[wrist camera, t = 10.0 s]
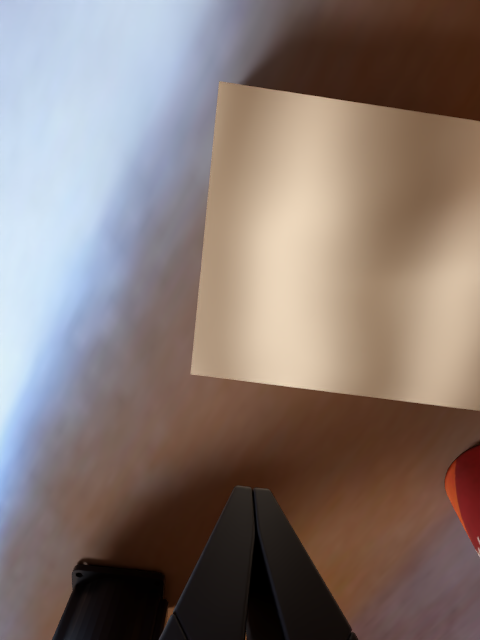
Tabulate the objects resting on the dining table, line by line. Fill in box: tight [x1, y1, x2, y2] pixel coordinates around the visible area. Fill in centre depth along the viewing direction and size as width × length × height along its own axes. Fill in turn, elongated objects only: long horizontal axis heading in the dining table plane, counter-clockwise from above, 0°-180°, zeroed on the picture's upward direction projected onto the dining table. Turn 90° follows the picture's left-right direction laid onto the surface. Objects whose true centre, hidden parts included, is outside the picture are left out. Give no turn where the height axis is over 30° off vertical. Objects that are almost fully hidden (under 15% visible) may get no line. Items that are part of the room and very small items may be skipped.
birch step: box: [191, 81, 480, 411], centre depth 16 cm, size 14×11×4 cm
